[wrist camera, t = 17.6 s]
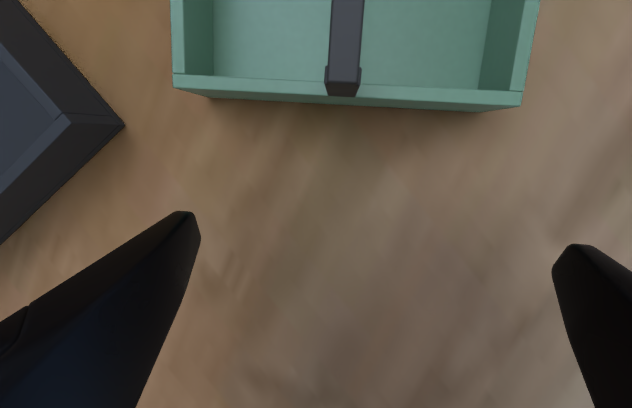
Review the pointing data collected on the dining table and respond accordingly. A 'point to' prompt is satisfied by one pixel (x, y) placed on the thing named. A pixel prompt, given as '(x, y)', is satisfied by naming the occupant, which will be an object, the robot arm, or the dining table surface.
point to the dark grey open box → (42, 118)
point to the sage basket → (356, 51)
